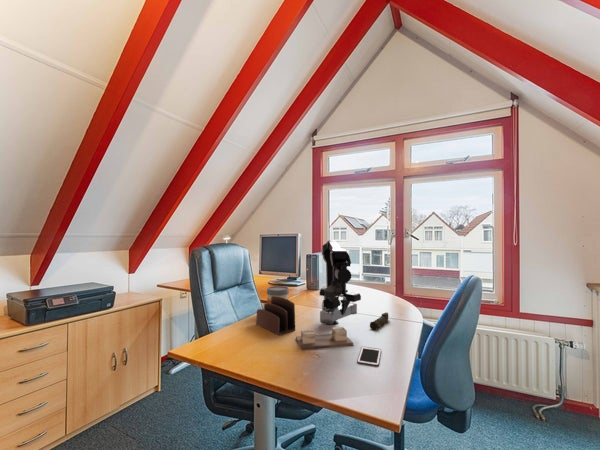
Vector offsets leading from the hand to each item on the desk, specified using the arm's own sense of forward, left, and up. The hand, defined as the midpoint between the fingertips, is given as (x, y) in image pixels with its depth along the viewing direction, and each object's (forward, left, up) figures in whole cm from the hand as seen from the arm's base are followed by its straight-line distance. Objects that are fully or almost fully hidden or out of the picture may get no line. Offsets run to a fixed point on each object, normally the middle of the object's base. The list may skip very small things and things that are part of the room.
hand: (339, 314), depth 126 cm
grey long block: (0, 0, -1) cm, 1 cm away
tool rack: (+1, -8, -11) cm, 14 cm away
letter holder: (-21, -26, -12) cm, 35 cm away
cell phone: (+18, +5, -12) cm, 23 cm away
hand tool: (-15, +27, -12) cm, 33 cm away
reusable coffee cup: (-42, -22, -11) cm, 48 cm away
